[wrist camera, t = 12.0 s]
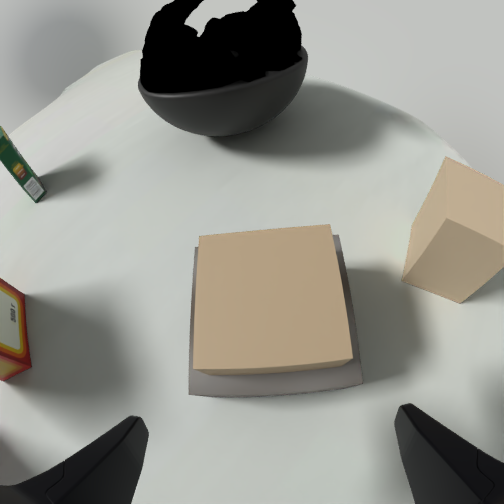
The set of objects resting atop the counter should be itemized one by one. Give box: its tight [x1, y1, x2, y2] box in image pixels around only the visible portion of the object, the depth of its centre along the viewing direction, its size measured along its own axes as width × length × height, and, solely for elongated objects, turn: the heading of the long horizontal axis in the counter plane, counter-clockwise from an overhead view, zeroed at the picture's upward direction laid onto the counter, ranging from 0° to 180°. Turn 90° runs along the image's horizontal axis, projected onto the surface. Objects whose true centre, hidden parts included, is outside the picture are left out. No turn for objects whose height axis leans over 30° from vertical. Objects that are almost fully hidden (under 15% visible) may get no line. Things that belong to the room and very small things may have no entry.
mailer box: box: [402, 156, 504, 303], centre depth 18 cm, size 6×6×9 cm
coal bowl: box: [138, 0, 308, 136], centre depth 27 cm, size 20×20×19 cm
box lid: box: [193, 224, 353, 375], centre depth 16 cm, size 8×8×3 cm
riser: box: [189, 235, 363, 397], centre depth 19 cm, size 10×10×5 cm
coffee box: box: [0, 126, 46, 203], centre depth 30 cm, size 8×3×13 cm, turn 50°
